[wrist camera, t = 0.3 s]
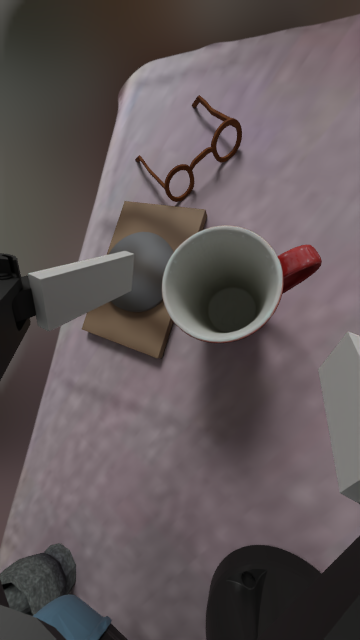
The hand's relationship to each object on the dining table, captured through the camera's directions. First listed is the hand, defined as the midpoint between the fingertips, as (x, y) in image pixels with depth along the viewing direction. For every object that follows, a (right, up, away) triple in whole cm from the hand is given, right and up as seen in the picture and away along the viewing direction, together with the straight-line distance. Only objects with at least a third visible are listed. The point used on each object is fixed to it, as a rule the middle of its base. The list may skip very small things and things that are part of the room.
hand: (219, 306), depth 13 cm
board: (-8, +6, +20) cm, 23 cm away
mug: (+6, +1, +15) cm, 16 cm away
